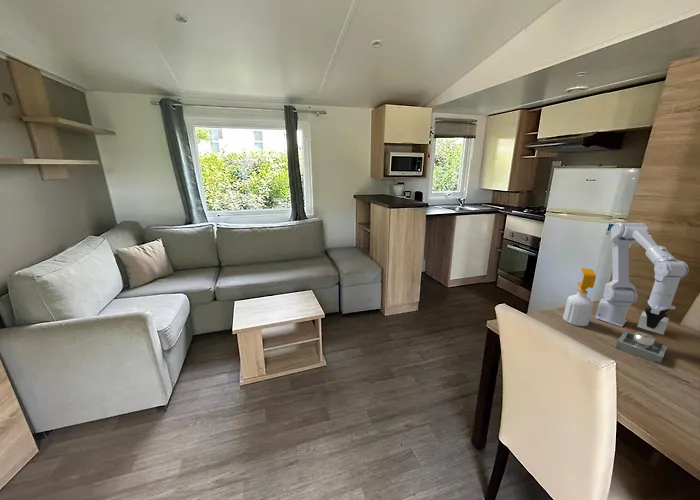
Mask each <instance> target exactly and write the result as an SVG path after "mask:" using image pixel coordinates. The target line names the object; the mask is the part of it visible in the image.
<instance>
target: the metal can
mask: <svg viewBox="0 0 700 500" xmlns="http://www.w3.org/2000/svg"><path fill="white" fill-rule="evenodd" d="M634 333H635V335H634V338H633V341H632V344H631V345H634V346H637V347H640V348H643V349H645V350H648V351H651V350H652V347H653V344H654V341H655V340H656V337H654V336H653V335H651V334H650V333H648V332H647V333H646V332H642V331H635V332H634Z"/></svg>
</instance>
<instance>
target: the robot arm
mask: <svg viewBox="0 0 700 500" xmlns="http://www.w3.org/2000/svg"><path fill="white" fill-rule="evenodd" d="M649 229H650V228H649V227H648V226H647V225H646V224H645V223H643V222H621V221H620V222H616V223H614V224H613V225H612V226H611V228H610V242H612V243H611V244H612V245H611V246H612V247H611V249H612V250H611V251H612V252H611V253H612V255H611V257H612V259H611V261H612V263H611V264H612V265H611V266H612V268H611V269H612V270H611V271H612V275H611V276H612V280H611V281H609V282H608V283H606V284H604V290H603V298H601V299H600V301H599V303H598V306H597V310H596V313H595V316H594V318H595V319H597V320H601V321H604V322H606V323H609V324H612V325H616V326H618V327H622V328H623V327H624V325H625V324H626V323H627V320H626V315H627V313H628V310H629V306H632V304H634V303H636V302H637V301H638V300H637V299H638V296H639V295H638V293H637V289H636V285H634V284H632V283H631V282H630V272H629V271H630V268H629V267H630V266H629V265H630V264H629V259H630V258H629V255H630V254H629V251H630V250H629V248H630V247H629V246H630V245H631V244H632V243H635V242H637V243H638V244H639V245H640V246H641V247H642V248H643V249H644V250H645V256H646V257H647V258H648V259H649V261H650V262H651V264H653V266H654V268H653V270H654V279H655V280H654V283H653V286H652V290H651V293H650V295H649V299H648V300H647V304H648V307H645V309H644V312H646V315H647V327H649V328H653V329H655V328H656V326H657V325H658V323H659V322H660V321H661V320H662V319H663V318H664V317H666V318H667V316H668V314H667V312H668V311H670V310H675V309H676V306H675V305H673V304H672V302H673V300H674V297H675V295H676V292H677V289H678V287H679V283H680V280H681V278H684V277H686V276H687V275H688V274H689V272H690V269H689V266H688V264H687V263H686V262H685V261H682V260H679V259H676V257H674V256H673V255H672V254H671V253H670V251H668V248H667V247H665V246H662V245H658V244H657V242H656V241H655V240H654V239H653V238H652V236H651V234H650V233H649Z"/></svg>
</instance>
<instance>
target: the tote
mask: <svg viewBox="0 0 700 500" xmlns="http://www.w3.org/2000/svg"><path fill="white" fill-rule="evenodd" d="M634 335H635V332H631V331H629V330H623V333H622V334H621V336H620V337H619V338H618V340H617V342H616V345H615V349H618V350H620V351H623V352H626V353H628V354H630V355H634V356H636V357H639V358H641V359H645V360H648V361H650V362H652V363H655V364H658V365H662V361H663V360H664V359H663V358H664V356H665V355H666V351H667V349H668V346H669V344H667V343H664V342H661V341H658V340H656V339H655V341H654V344H653V347H652V350H651V351H648V350H645V349H643V348H640V347H637V346H634V345H631V344H632V341H633V338H634Z"/></svg>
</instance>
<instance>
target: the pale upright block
mask: <svg viewBox="0 0 700 500" xmlns="http://www.w3.org/2000/svg"><path fill="white" fill-rule="evenodd" d="M669 320H670V317H667V316H666V317H664V318H663V319H662V320H661V321H660V322H659V323H658V325H657V326H656V328H655V329H653V328H649V327H647V315H646V312H645V310H644V311H642V313H641V314H640V316H639V320H638V323H637V325H636V326H637V328H640V329H644V330H646V331H650V332H652V333H656V334H659V335H664V334H665V333H666V332H665V331H666V329H667V327H668V323H669V322H670V321H669Z"/></svg>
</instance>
